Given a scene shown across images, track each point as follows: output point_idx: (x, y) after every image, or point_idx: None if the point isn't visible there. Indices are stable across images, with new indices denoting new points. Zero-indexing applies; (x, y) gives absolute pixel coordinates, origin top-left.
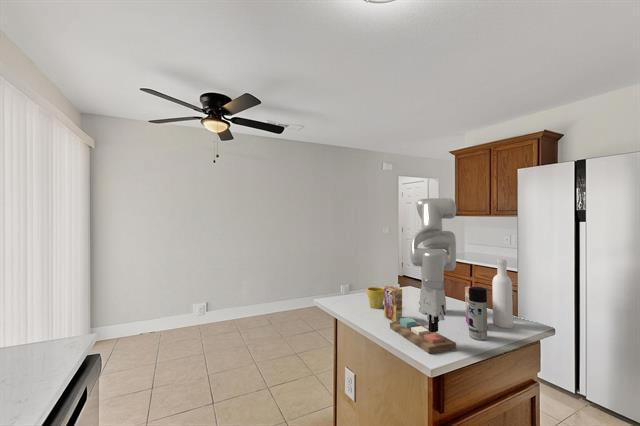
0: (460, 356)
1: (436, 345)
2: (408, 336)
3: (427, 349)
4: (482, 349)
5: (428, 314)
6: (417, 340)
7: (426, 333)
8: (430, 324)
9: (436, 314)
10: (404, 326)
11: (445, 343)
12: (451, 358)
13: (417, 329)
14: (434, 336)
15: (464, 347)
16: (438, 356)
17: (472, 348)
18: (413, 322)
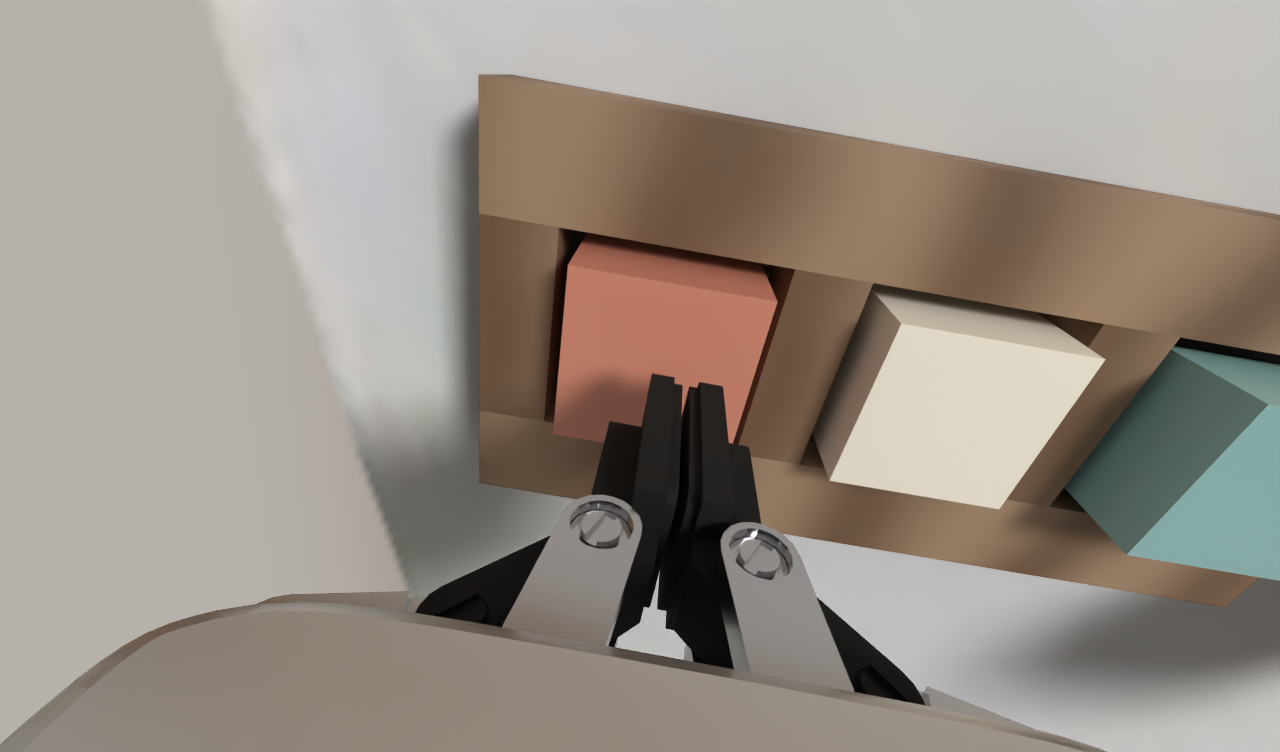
0: (361, 352)
1: (491, 233)
2: (1007, 168)
3: (536, 81)
4: (430, 583)
5: (768, 665)
6: (775, 127)
7: (835, 421)
8: (666, 453)
9: (48, 710)
10: (1245, 367)
11: (501, 381)
12: (339, 234)
13: (974, 381)
14: (646, 383)
15: (506, 519)
16: (418, 134)
17: (468, 548)
18: (1155, 503)
